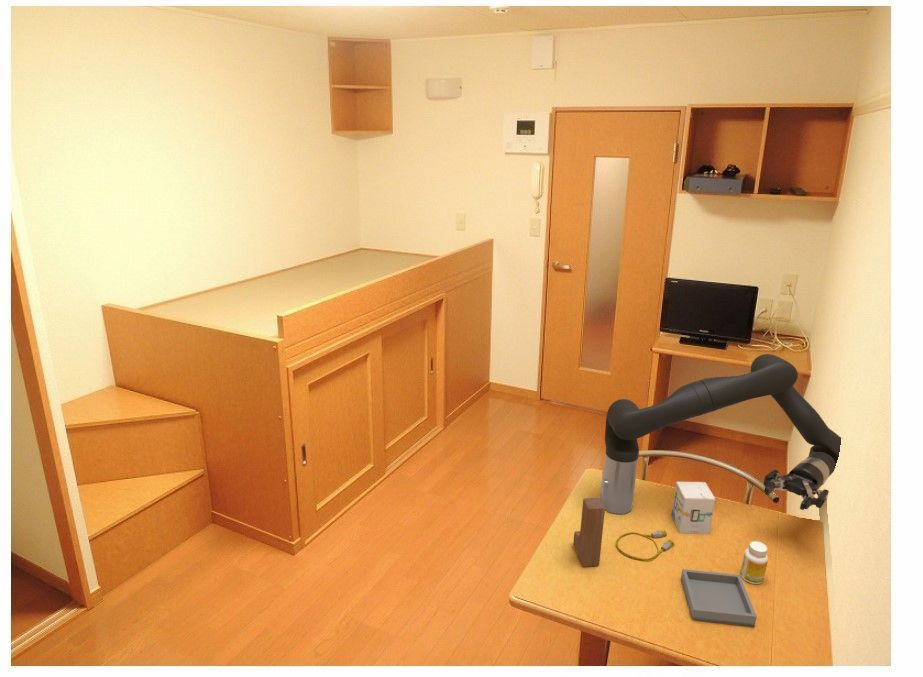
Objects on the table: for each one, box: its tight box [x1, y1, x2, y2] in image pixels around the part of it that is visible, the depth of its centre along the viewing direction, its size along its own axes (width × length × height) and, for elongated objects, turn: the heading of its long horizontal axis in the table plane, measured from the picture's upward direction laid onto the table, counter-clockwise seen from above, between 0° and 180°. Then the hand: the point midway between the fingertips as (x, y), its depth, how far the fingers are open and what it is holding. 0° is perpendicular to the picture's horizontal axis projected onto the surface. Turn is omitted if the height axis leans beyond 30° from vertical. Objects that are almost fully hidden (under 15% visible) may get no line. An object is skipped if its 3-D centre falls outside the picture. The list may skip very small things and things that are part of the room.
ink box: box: [671, 480, 716, 535], centre depth 173 cm, size 9×8×12 cm
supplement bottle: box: [739, 540, 769, 585], centre depth 153 cm, size 5×5×10 cm
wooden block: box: [573, 497, 606, 568], centre depth 159 cm, size 9×4×18 cm, turn 6°
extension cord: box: [615, 530, 675, 562], centre depth 165 cm, size 12×16×2 cm
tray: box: [680, 568, 758, 628], centre depth 146 cm, size 14×14×3 cm
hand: (784, 499), depth 155 cm, fingers open, 8 cm apart
